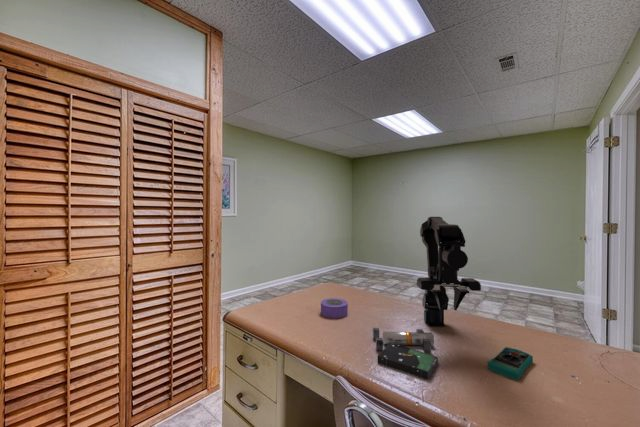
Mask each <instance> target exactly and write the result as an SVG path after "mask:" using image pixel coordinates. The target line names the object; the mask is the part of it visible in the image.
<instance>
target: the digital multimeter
mask: <svg viewBox="0 0 640 427" xmlns="http://www.w3.org/2000/svg"><path fill="white" fill-rule="evenodd" d="M533 358H534V357H533V355H531V354H530V353H528V352H526V351H523V350H520V349H517V348H512V347H508V346H505V347H504V348H503V349H502V350H500V352H499V353H498V354H497V355H495V357H493V358H492V359H490V360H489V361H488V363H487V369H488V370H489V371H492V372H493V373H496V374H498V375H501V376H504V377H506V378H509V379H512V380H515V381H518V380H520V379H521V376H522V375H523V373H524V372H526V370H527V369H528V368H529V366H531V365H532V364H533V363H534V359H533Z"/></svg>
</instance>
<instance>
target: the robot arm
mask: <svg viewBox="0 0 640 427" xmlns="http://www.w3.org/2000/svg"><path fill="white" fill-rule="evenodd" d="M419 235H420V237H421V242H422V243H423V245H424V247H426V262H427V276H428V277H417V279H416V286H417V287H418V288H419V289H421V290H422V291H424V293H423V295H422V300H421V302H422V305H421V306H422V307H423V308H424V310H423V321H424V322H425V323H426V324H427V326H429V327H447V326H446V324H445V311H448V307H449V301H450V298H449V297H448V294H447V289H446V288H448V287H450V288H452V289H453V292H454V293H453V311H457V310H458V308H459V307H460V304H461V302H462V301H463V300H464V298H465V296H467V294H470V291H475V292H476V291H477V292H478V291H479V292H481V291H482V284H481V282H480V281H478V280H477V279H475V278H471V277H469V278H468V277H467V278H466V277H462V278H461V279H458V278H459V277H458V275H459V274H458V272H459V271H460V269H463V268H465V267H466V266H467V264H468V261H469V257H468V255H467V254H466V252H465V251H463V250H462V248H465V247H466V242H467V241H466V239H465V238H466V237H465V236H464V233H463V230H462V229H461V228H460V226H459V225H458V224H451V223H450V224H449V223H448V222H447V221H445V220H444V219H443V217H442V216H429V217H427V219H426V221H424V222H422V224H421V226H420V230H419ZM468 289H469V290H470V291H469V290H468Z"/></svg>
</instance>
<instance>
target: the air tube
mask: <svg viewBox="0 0 640 427" xmlns="http://www.w3.org/2000/svg"><path fill="white" fill-rule="evenodd" d="M382 339H383V345H387V346H388V345H389V344H390V343H392V344H396V345H400V346H422V347H423V339H430V341H431V347H434V346H435V337H434V334H433V332H425V331H424V332H416V331H415V332H414V331H413V332H412V331H386V330H385V331H382Z"/></svg>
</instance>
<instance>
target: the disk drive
mask: <svg viewBox="0 0 640 427" xmlns="http://www.w3.org/2000/svg"><path fill="white" fill-rule="evenodd" d="M377 364H379V365H382V366H385V367H389V368H392V369H395V370H397V371H400V372H404V373H406V374H409V375H413V376H415V377H417V376H418V378H420V377H421V379H424V380H426V381H430V380H431V377H432V376H433V373H434V372H435V370H436V368H437V366H438V364H439V357H438V356H436V355H434V354H431V353H430V352H424V351H420V350H418V349H413V348H410V347H406V346H404V345H396V344H392V343H390V344H389V345H388V344H387V346H385V348H383V351H381V352H379V354H378V355H377Z"/></svg>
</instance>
